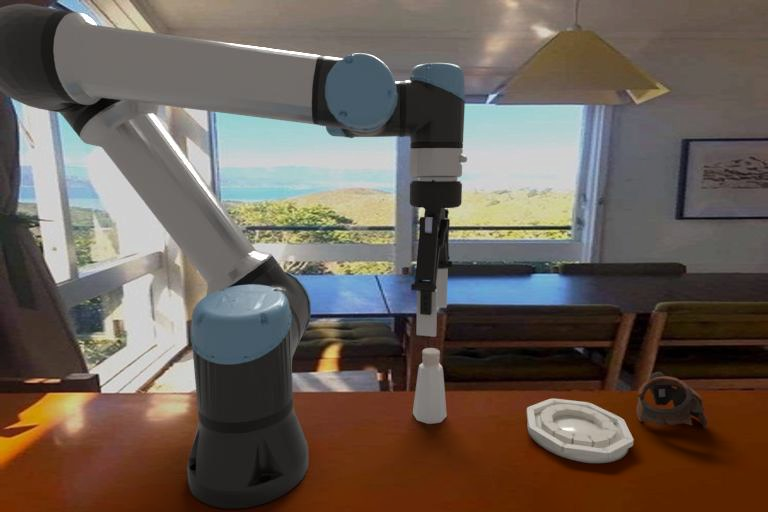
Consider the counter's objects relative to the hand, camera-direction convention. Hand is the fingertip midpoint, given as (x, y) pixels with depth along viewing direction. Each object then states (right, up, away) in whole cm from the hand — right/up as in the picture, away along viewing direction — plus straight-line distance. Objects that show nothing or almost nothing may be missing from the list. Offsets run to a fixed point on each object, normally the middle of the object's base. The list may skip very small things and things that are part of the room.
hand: (432, 319), depth 72 cm
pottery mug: (+37, -16, +2) cm, 41 cm away
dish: (+21, -17, -2) cm, 27 cm away
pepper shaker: (0, -16, +3) cm, 16 cm away
